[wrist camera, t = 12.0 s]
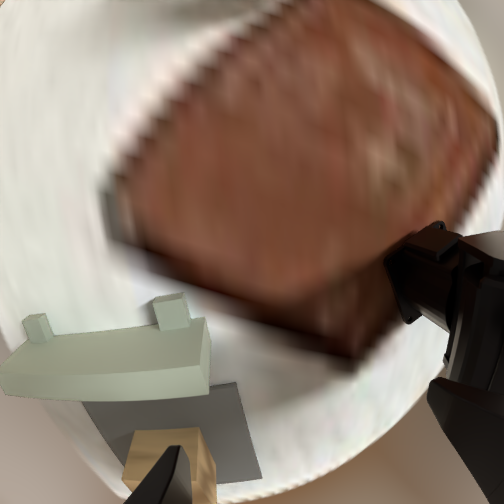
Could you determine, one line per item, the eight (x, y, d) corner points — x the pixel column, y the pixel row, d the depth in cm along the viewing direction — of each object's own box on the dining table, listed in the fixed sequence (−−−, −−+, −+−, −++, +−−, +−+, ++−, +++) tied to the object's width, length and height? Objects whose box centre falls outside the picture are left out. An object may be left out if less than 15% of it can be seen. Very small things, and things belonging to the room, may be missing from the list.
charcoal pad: (261, 475, 24) (262, 478, 24) (139, 482, 23) (138, 485, 23) (235, 382, 21) (236, 386, 20) (81, 394, 20) (79, 397, 20)
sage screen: (217, 364, 20) (217, 419, 15) (48, 376, 19) (18, 415, 14) (198, 289, 19) (189, 330, 13) (21, 316, 18) (-19, 347, 12)
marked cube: (216, 465, 22) (217, 514, 16) (158, 467, 22) (151, 514, 16) (198, 426, 21) (196, 482, 15) (135, 430, 21) (121, 480, 15)
